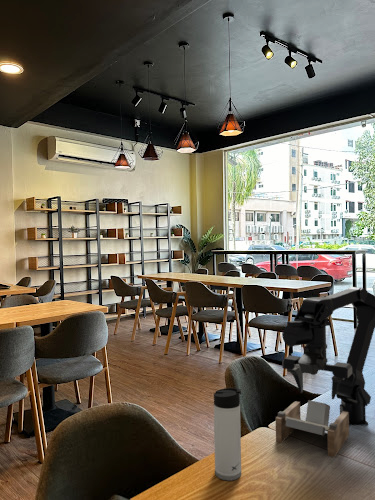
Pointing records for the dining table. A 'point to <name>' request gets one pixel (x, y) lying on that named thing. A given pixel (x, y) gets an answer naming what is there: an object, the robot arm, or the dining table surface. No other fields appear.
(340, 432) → the trapdoor frame
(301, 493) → the dining table surface
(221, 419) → the travel mug
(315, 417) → the light gray block
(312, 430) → the trapdoor
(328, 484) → the dining table surface
